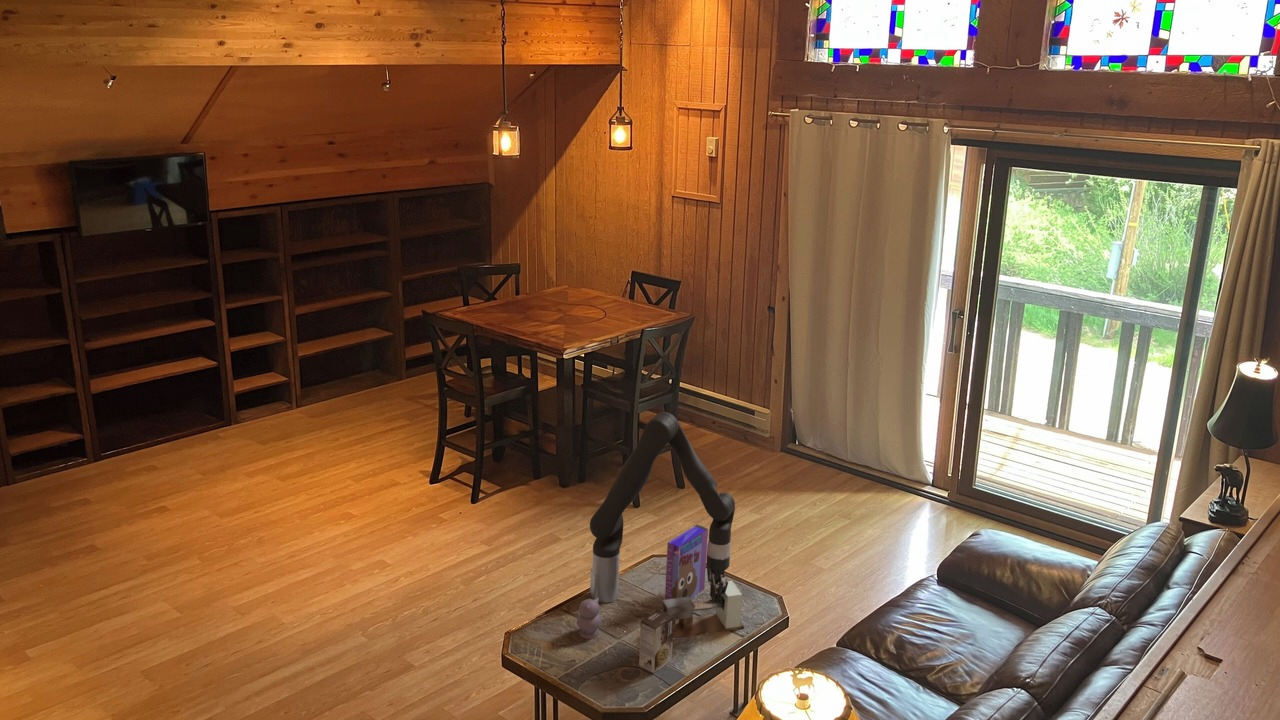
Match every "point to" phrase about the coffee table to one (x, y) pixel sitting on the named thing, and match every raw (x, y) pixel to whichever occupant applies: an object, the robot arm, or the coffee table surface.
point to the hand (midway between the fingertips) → (715, 599)
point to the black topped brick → (708, 602)
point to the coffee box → (656, 640)
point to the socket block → (730, 607)
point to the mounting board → (692, 619)
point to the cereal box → (686, 563)
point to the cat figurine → (589, 619)
